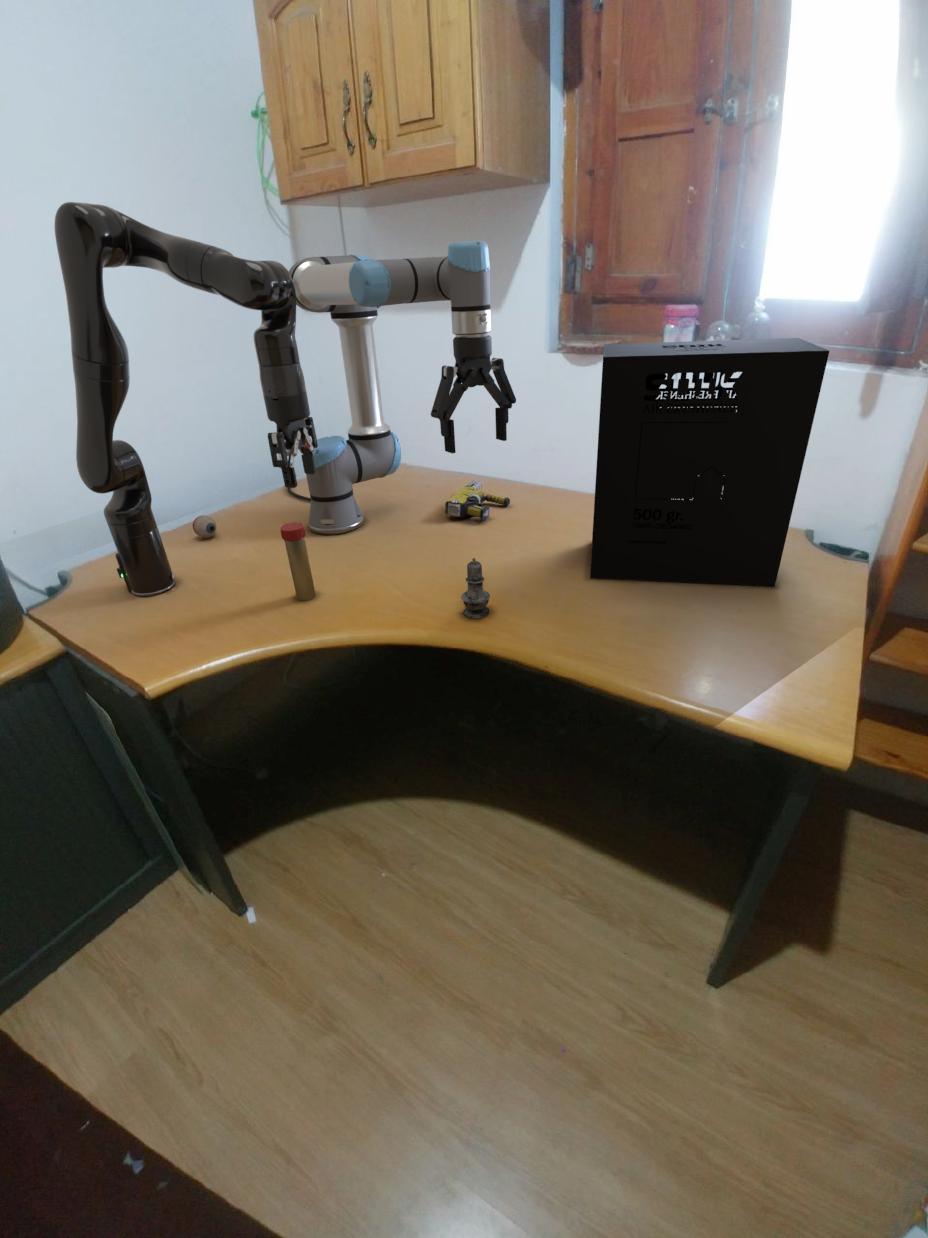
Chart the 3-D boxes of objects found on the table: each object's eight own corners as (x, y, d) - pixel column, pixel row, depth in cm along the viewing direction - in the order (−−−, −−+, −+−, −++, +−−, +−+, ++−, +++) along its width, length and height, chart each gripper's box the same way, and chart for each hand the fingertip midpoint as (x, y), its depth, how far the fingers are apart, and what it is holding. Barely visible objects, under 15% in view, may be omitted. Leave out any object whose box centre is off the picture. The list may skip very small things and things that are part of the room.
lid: (288, 543, 122) (286, 532, 121) (277, 537, 126) (275, 526, 124) (310, 536, 125) (308, 526, 124) (298, 530, 128) (296, 520, 127)
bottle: (302, 602, 130) (287, 533, 122) (293, 596, 133) (278, 528, 125) (319, 596, 132) (305, 528, 124) (310, 590, 135) (296, 523, 127)
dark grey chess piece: (488, 619, 119) (486, 564, 113) (459, 618, 120) (455, 563, 114) (493, 605, 124) (491, 551, 118) (465, 604, 125) (462, 550, 119)
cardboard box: (755, 547, 142) (798, 337, 120) (774, 586, 125) (829, 350, 102) (592, 542, 150) (603, 344, 127) (589, 578, 133) (603, 356, 110)
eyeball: (206, 542, 163) (200, 521, 160) (191, 538, 166) (185, 518, 163) (224, 534, 167) (218, 514, 164) (209, 531, 170) (203, 510, 167)
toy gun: (518, 485, 181) (471, 478, 185) (495, 509, 161) (443, 500, 165) (516, 500, 184) (470, 493, 188) (494, 525, 164) (442, 517, 168)
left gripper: (283, 384, 114) (299, 469, 122) (245, 398, 102) (265, 491, 110) (320, 383, 112) (333, 469, 120) (285, 398, 100) (303, 492, 108)
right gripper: (429, 342, 108) (437, 460, 118) (533, 329, 120) (532, 437, 131) (407, 340, 113) (417, 454, 124) (508, 328, 125) (510, 432, 136)
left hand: (301, 480), depth 115 cm, fingers open, 8 cm apart
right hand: (476, 445), depth 127 cm, fingers open, 13 cm apart
